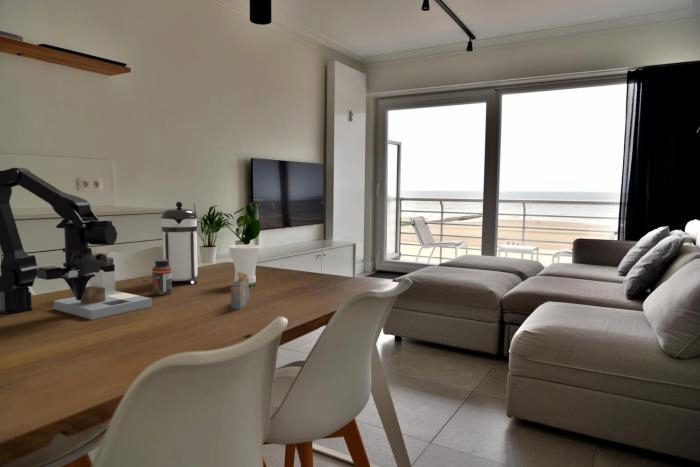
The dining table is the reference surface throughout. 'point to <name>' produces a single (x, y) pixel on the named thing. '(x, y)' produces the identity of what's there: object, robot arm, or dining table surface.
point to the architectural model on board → (240, 292)
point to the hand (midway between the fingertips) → (78, 300)
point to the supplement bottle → (162, 278)
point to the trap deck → (104, 305)
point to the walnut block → (93, 294)
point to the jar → (103, 279)
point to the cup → (245, 260)
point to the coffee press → (180, 242)
